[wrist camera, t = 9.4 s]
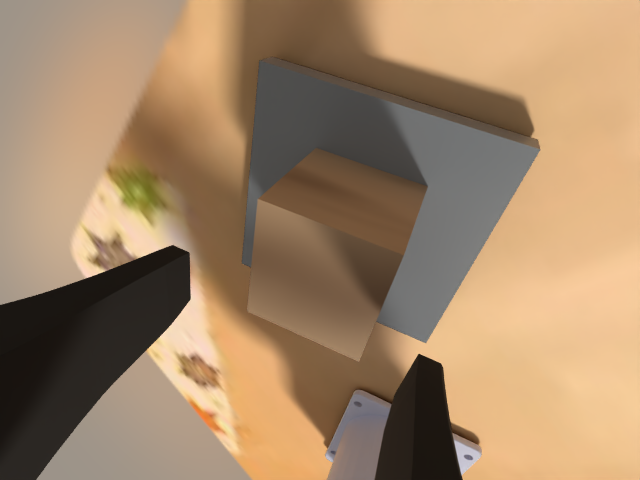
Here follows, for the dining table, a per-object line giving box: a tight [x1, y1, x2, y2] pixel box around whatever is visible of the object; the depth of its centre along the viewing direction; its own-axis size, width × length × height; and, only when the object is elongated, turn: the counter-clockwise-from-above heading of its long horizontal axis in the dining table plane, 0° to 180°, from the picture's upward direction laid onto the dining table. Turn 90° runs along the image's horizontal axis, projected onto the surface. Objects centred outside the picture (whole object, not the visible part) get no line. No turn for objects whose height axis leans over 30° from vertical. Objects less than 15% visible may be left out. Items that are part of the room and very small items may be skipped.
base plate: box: [242, 57, 540, 343], centre depth 16 cm, size 10×10×1 cm
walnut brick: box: [247, 148, 428, 362], centre depth 14 cm, size 5×4×5 cm
